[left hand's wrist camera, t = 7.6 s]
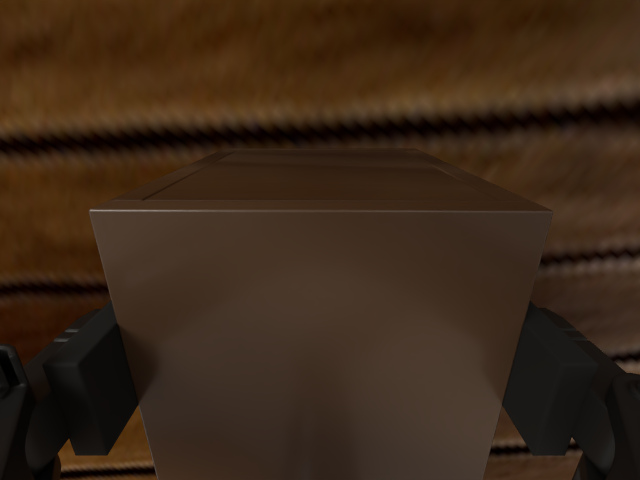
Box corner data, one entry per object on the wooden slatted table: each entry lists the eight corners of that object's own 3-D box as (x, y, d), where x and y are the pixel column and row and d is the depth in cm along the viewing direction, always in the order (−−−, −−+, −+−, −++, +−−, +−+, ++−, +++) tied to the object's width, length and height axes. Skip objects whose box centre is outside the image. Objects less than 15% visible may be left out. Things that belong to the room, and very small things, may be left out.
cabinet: (391, 390, 24) (447, 614, 13) (248, 389, 24) (191, 614, 13) (416, 148, 18) (555, 210, 7) (225, 148, 18) (87, 209, 7)
